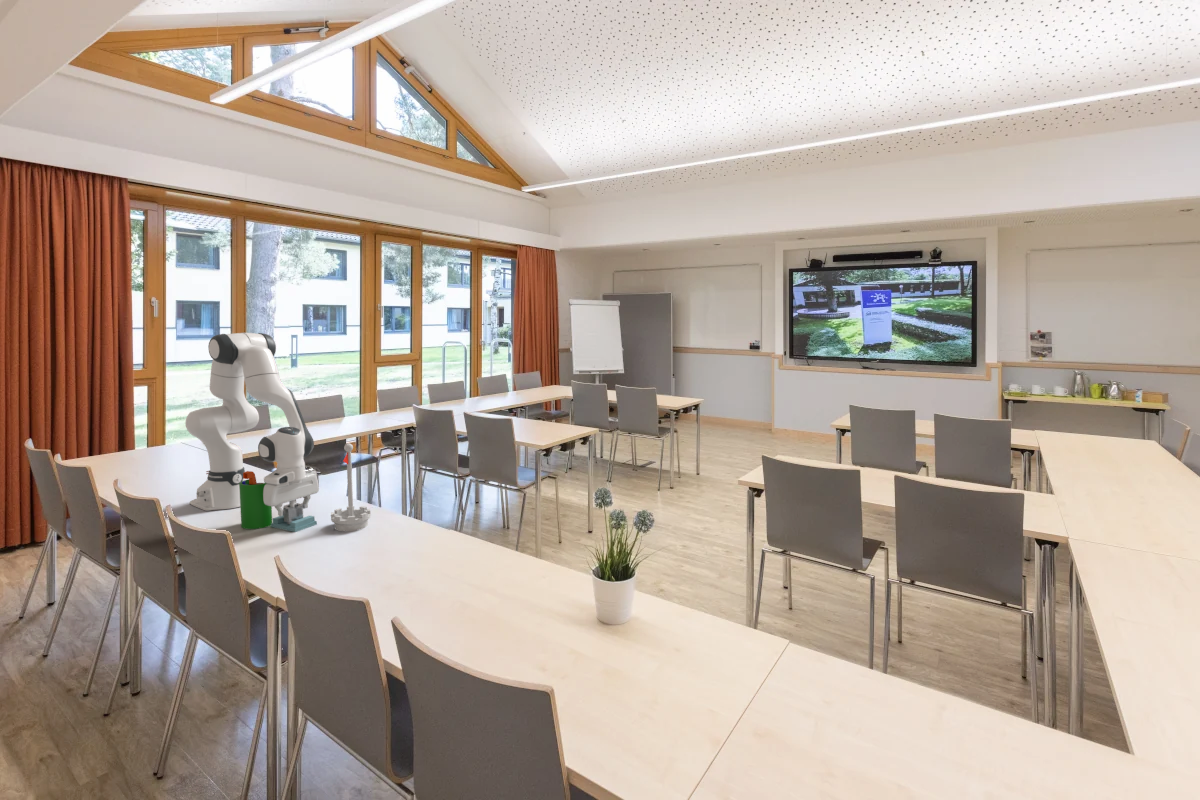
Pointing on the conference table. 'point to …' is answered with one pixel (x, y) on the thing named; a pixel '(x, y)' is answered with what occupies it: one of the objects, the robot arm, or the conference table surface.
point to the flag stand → (350, 504)
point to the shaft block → (294, 525)
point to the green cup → (253, 503)
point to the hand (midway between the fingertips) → (293, 511)
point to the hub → (293, 512)
